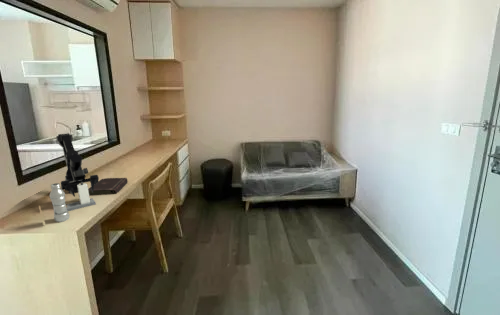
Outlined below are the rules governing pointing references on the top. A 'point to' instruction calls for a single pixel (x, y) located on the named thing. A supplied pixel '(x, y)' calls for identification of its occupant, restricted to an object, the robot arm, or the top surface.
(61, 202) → the plastic bottle
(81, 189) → the charger
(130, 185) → the top surface
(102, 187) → the diary
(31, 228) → the top surface
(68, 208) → the power strip
